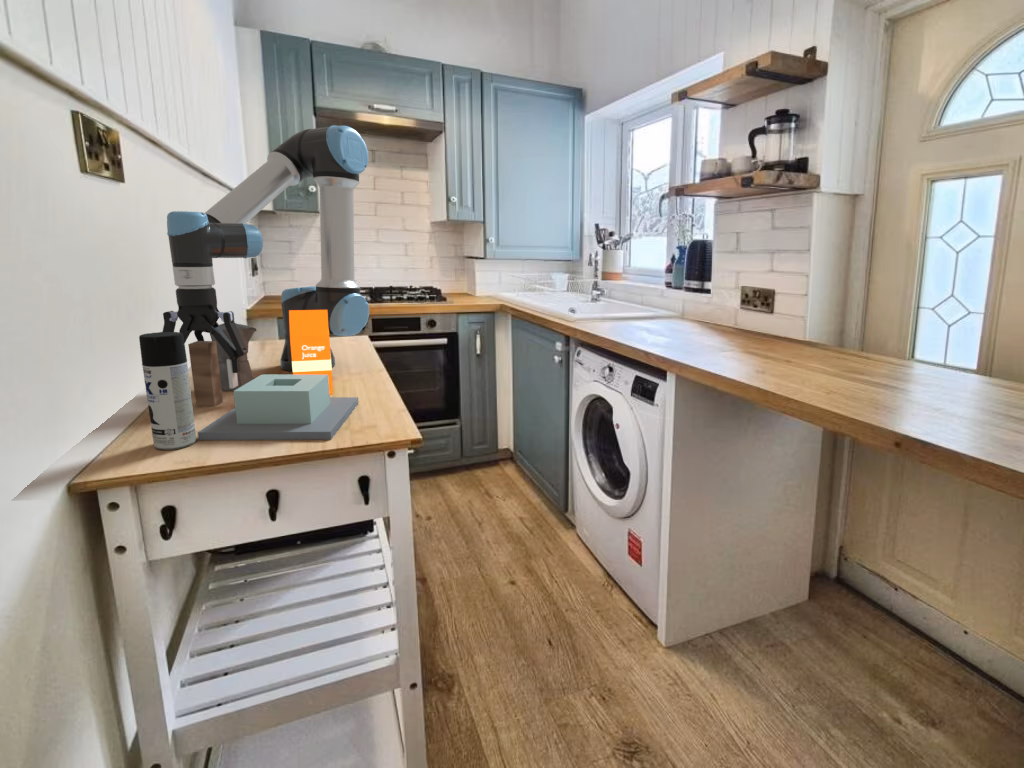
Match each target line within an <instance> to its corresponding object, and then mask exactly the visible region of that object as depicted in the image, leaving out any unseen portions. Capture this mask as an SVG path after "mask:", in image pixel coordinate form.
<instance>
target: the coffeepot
mask: <svg viewBox="0 0 1024 768" xmlns="http://www.w3.org/2000/svg"><path fill="white" fill-rule="evenodd" d="M235 324H236V326H237V328H238V331H239V333H240V335H241V337H242V339H243V341H244V344H245V346H246V348H247V350H248V351H249V343H250V340H251V338H252V337H253V335H254V333H255V332H257V329H256V327H252V326H250V325H247V324H241V323H236V322H235ZM219 326H220V327H221V329H222V331H223V332H224V334H225V335H226V336H227V338H228V339H229V340H230V341H231V343H232V344H233V342H232V340H231V338H230V336H229V334H228V332H227V329H226V327H225V325H224V322H223V323H221V324H219ZM193 333H194V336H195V338H196V341H205V338H204V336H203V333H207V334H209V335H210V341H216V346H217V355H218V363H219V372H220V380H221V389H222V392H223V391H224V392H234V391H235V390H236V389H238V388H240V387H241V386H243V385H245V384H246V383H248V382H250V381H251V380H253V379H255V378H254V375H253V371H252V369H251V364H250V362H249V360H248V353H247V354H245V355H243V356H241V357H240V368H241V370H240V372H238V373H237V378H238V386H237V387H235V388H230V387H229V378H228V369H227V359H229V358H230V357H229V356H228V354H227V353H226V352H225V350H224V349H223V348H222V347H221V345H220V344H219V343H218V341H217V340H216V339H215V338H214V336H213V335H212V334H210V333H209V332H208V330H207V331H201V330H196V331H193ZM233 345H234V344H233Z"/></svg>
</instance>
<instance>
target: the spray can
mask: <svg viewBox="0 0 1024 768" xmlns="http://www.w3.org/2000/svg"><path fill="white" fill-rule="evenodd" d="M138 338H139V348H140V356H141V365H142V371H143V378H144V379H143V380H144V384H145V392H146V399H147V407H148V413H149V419H150V420H149V421H150V428H151V434H152V441H153V446H154V447H155V449H157V450H160V451H173V450H180V449H185V448H187V447H190V446H192V445H194V444H195V443H196V441H197V433H196V426H195V425H196V424H195V417H194V416H195V415H194V409H193V408H194V407H193V401H192V400H193V399H192V393H191V392H192V391H191V384H190V376H189V369H188V358H187V351H186V345H185V344H186V343H185V344H184V336H183V334H182V333H180V331H179V332H178V331H174V332H162V331H159V332H150V333H142V334H140V335H139V337H138Z"/></svg>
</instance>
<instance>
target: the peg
mask: <svg viewBox="0 0 1024 768" xmlns="http://www.w3.org/2000/svg"><path fill="white" fill-rule="evenodd" d="M188 352H189V360H190V366H191V367H190V368H191V375H192V382H193V383H192V384H193V385H192V386H193V391H194V398H195V399H194V401H195V406H210V407H211V406H215V407H216V406H219V405H220V404H221V403H224V399H223V391H222V389H221V380H220V372H219V363H218V355H217V346H216V341H212V340H204V341H197V340H196V341H193V342H190V343H188ZM210 407H209V408H210Z"/></svg>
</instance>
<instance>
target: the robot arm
mask: <svg viewBox="0 0 1024 768" xmlns="http://www.w3.org/2000/svg"><path fill="white" fill-rule="evenodd" d="M368 164H369V151H368V147H367V144H366V142H365V140H364V139H363V138H362V136H361V134H360V133H359V132H358V131H357V130H356V129H354V128H352V127H351V126H348V125H333V124H332V125H330V126H324V127H317V128H308V129H302V130H301V131H298V132H297V133H295V134H293V135H291V136H290V137H289V138H287V139H286V140H285V141H283V142H282V143H281V144H280V145H278V146H276V148H274V149H273V150H272V151H271V152H269V154H268V155H267V161H266V162H265V163H263V164H262V165H261V166H260V167H258V169H256V170H255V171H254V172H253V173H251V174H250V175H248V176H247V177H246V178H245V179H244V180H243V181H242V182H240V183H239V184H237V186H235V187H234V188H233V189H232V190H231V191H229V192H228V193H226V194H225V196H223V197H222V198H221V199H219V201H217V202H216V203H215V204H213V205H212V206H211V207H210V208H209V209H208V210H207V211H205V212H202V211H201V212H200V211H188V210H187V211H182V210H180V211H179V210H177V211H175V210H174V211H169V212H168V213H167V214H166V215H167V216H166V230H167V233H166V235H167V237H168V243H169V249H170V250H169V251H170V258H171V263H172V271H173V280H174V285H175V286H176V287H178V288H176V290H175V296H176V305H177V309H178V310H177V311H173V310H169V311H165V312H163V313H162V315H163V322H164V323H163V327H162V331H161V332H175V329H176V324H177V321H178V319H179V320H180V321H181V322H182V324H181V325H180V328H179V332H180V333H182V334H183V336H184V344H186V343H187V339H188V338H189V336H190V335H191V333H192V332H194V331H196V330H201V331H207V330H208V332H209V333H208V334H209V335H210V334H212V335H213V336H214V338H215V339H216V340H217V341H218V343H219V344H220V345H221V347H222V348H223V349H224V350H225V352H226V353H227V354H228V356H229V357H230V358H229V359H227V369H228V378H229V387H230V388H235V387H237V386H238V378H237V373H238V372H240V370H241V368H240V357H241V356H243V355H245V354H247V355H248V354H249V349H248V350H247V348H246V346H245V344H244V341H243V339H242V337H241V335H240V333H239V331H238V328H237V326H236V324H235V323H236V322H235V314H234V311H232V310H230V311H220V310H219V308H218V299H217V298H218V297H217V291H216V288H215V287H213V286H214V285H216V280H215V274H214V273H215V272H214V265H213V264H214V263H213V259H229V258H230V259H248V258H257V257H259V255H261V252H262V251H263V247H264V243H263V241H264V240H263V239H264V238H263V235H262V233H261V231H260V230H259V228H258V227H257V226H256V225H253V224H247V223H248V222H250V221H251V219H253V218H254V217H255V216H257V214H259V213H260V211H262V210H263V209H264V208H266V207H267V206H268V205H269V204H270V203H271V202H272V201H273V200H274V199H276V198H277V197H278V196H279V195H280V194H281V193H282V192H284V191H285V190H286V189H287V188H288V187H289V186H291V187H294V186H297V185H298V184H299V183H300V182H302V181H303V180H306V179H308V178H313V181H314V182H315V183H316V184H317V186H318V187H319V218H320V219H319V223H320V224H319V225H320V228H319V229H320V230H319V232H320V272H321V277H320V280H319V281H318V282H317V283H316V284H315V286H314V285H311V286H303V287H302V286H301V287H293V288H285V289H284V290H282V292H281V303H280V304H281V305H280V306H281V313H282V323H283V334H284V344H283V348H282V352H281V357H280V361H279V362H280V369H281V370H284V371H290V372H293V370H292V355H291V343H290V323H289V311H290V310H327V313H328V328H329V335H335V336H337V337H345V336H346V337H351V336H355V335H357V334H359V333H361V332H362V330H363V328H365V327H366V325H367V323H368V321H369V316H370V307H369V306H370V305H369V303H368V301H367V300H366V298H365V297H364V296H363V295H362V294H361V286H360V285H359V284H358V283H357V282H356V280H355V230H354V229H355V228H354V227H355V223H354V222H355V219H354V217H355V216H354V214H355V213H354V210H355V209H354V190H355V189H356V187H357V186H358V185H360V174H362V173H363V172H364V171H365V170H366V168H368V167H367V166H368ZM219 319H220V320H221V322H223V323H224V325H225V327H226V329H227V332H228V334H229V336H230V338H231V340H232V342H233V344H234V345H233V344H232V343H231V341H230V340H229V339H228V338H227V336H226V335H225V334H224V332H223V331H222V329H221V327H220V326H219V325H220V324H219V323H218V320H219ZM330 353H331V365H332V368H333V367H335V366H336V357H335V355H334V353H333V349H332V348H331V346H330ZM334 365H335V366H334Z"/></svg>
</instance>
